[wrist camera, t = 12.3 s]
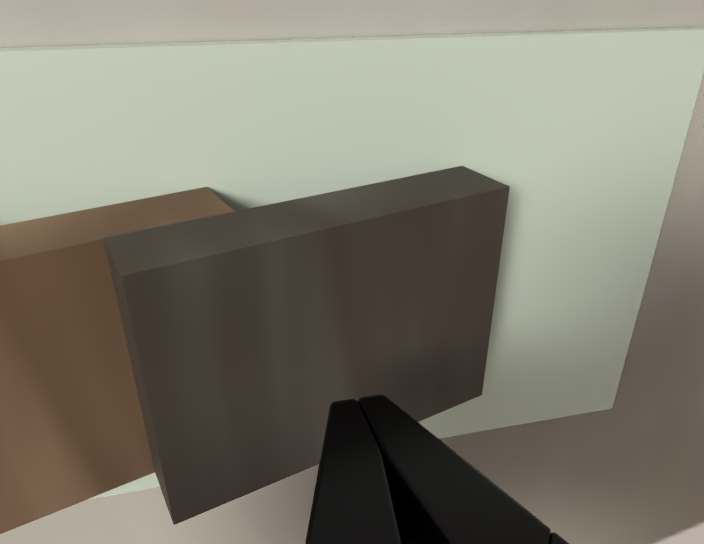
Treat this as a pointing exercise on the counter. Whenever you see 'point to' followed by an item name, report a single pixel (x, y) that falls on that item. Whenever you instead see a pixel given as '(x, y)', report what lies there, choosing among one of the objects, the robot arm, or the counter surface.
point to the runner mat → (395, 163)
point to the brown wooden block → (71, 357)
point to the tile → (304, 323)
